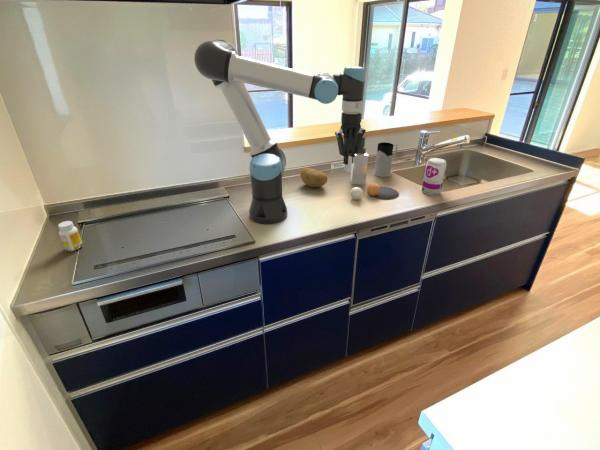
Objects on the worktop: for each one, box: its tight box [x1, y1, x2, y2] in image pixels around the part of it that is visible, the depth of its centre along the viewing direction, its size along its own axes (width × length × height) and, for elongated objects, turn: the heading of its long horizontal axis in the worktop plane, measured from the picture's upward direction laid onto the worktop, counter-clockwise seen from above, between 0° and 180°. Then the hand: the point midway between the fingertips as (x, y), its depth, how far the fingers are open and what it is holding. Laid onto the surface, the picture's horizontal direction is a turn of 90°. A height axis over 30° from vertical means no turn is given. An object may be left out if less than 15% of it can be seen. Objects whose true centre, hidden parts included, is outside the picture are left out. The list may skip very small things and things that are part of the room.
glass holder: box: [373, 142, 398, 178], centre depth 174 cm, size 9×14×15 cm, turn 130°
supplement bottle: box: [57, 220, 83, 251], centre depth 115 cm, size 5×5×10 cm
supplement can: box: [421, 157, 447, 196], centre depth 152 cm, size 8×8×15 cm
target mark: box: [366, 185, 400, 201], centre depth 155 cm, size 14×14×1 cm
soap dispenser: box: [350, 135, 369, 186], centre depth 162 cm, size 6×9×22 cm
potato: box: [300, 167, 328, 188], centre depth 160 cm, size 10×14×8 cm
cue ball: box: [349, 186, 364, 201], centre depth 148 cm, size 6×6×6 cm
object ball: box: [366, 183, 380, 197], centre depth 152 cm, size 6×6×6 cm
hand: (347, 171), depth 141 cm, fingers closed
